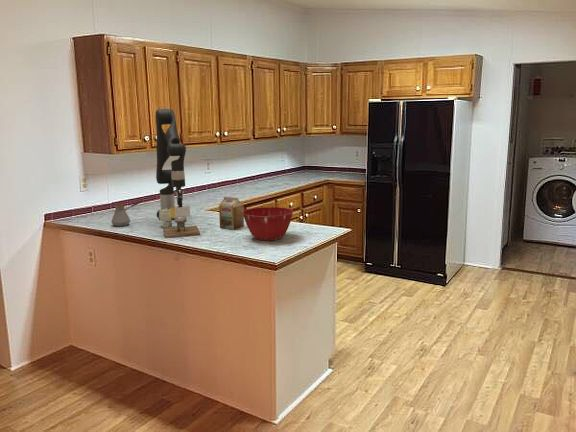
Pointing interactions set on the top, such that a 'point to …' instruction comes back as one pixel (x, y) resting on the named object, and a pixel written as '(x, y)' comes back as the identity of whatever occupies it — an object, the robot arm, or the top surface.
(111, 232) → the top surface
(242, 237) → the top surface
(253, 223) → the mixing bowl
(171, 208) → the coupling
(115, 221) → the coffee pot
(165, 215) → the pneumatic valve
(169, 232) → the board
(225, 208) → the milk carton
